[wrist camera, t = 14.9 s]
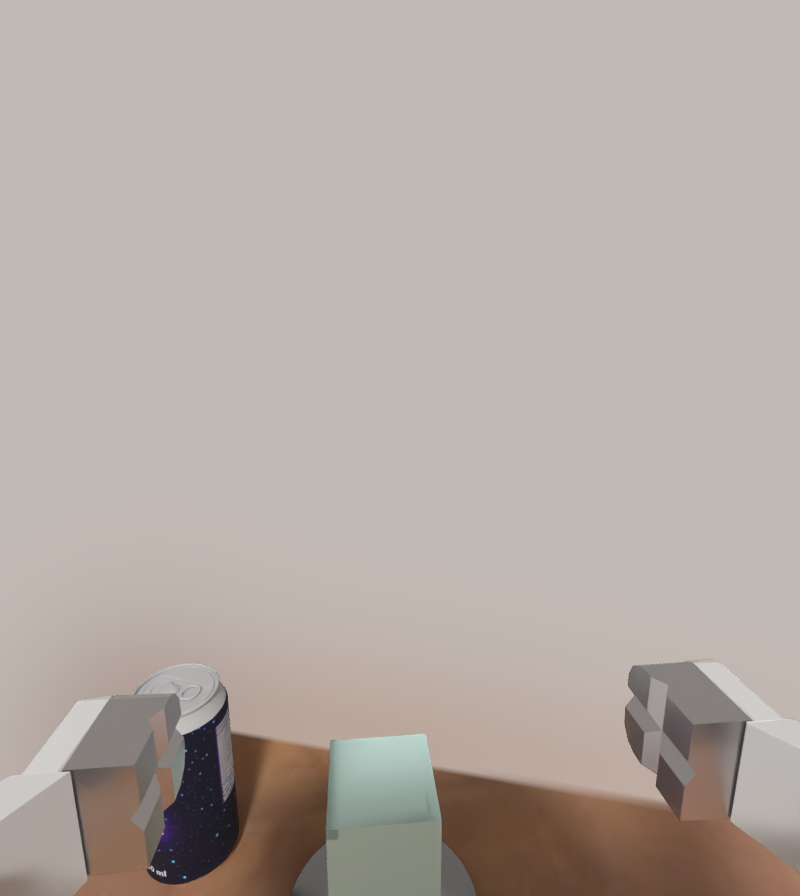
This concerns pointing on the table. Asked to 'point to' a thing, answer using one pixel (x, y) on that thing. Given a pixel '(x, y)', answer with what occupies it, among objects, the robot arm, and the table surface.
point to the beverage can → (197, 777)
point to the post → (454, 877)
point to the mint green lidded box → (383, 818)
